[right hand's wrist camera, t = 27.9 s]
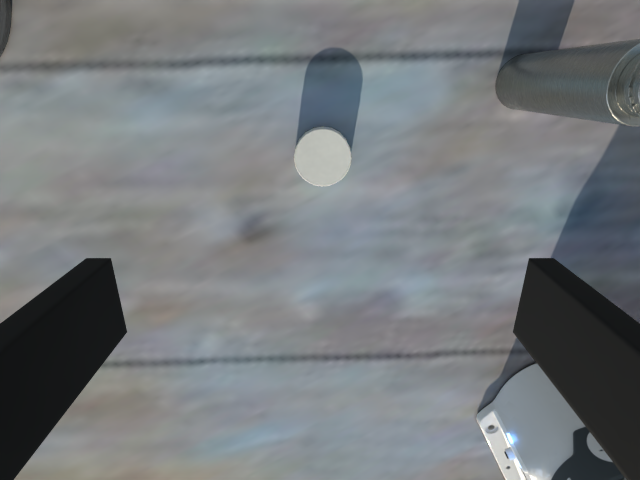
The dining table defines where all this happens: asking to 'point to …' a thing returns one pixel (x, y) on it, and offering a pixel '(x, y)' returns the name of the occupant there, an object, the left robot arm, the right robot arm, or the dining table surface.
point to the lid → (322, 156)
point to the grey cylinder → (576, 82)
